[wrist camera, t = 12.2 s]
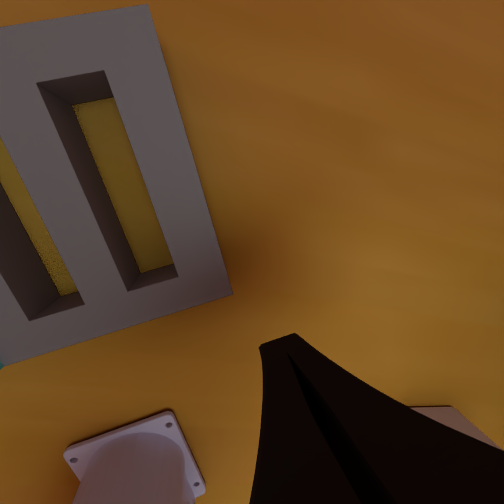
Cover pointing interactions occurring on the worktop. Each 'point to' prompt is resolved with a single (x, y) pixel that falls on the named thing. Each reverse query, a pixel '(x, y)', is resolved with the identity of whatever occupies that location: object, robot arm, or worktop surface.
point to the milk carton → (454, 421)
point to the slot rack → (95, 184)
